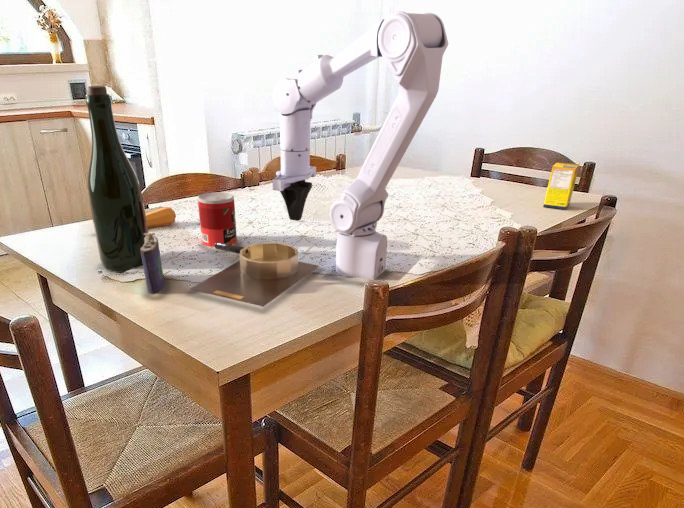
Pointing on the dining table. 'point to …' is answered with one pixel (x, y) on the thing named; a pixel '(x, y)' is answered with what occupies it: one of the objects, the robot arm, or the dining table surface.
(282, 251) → the pan
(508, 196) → the dining table surface
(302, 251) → the dining table surface
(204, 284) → the board
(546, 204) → the supplement box
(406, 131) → the robot arm
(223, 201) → the canned food
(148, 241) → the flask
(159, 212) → the carrot
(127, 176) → the green wine bottle
